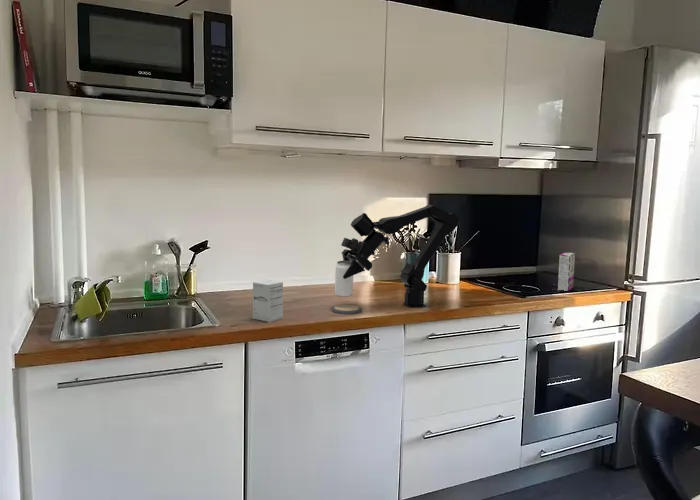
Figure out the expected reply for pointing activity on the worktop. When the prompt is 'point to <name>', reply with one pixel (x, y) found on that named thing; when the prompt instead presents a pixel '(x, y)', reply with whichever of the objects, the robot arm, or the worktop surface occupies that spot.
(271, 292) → the supplement box
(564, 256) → the candy bar box
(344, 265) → the can
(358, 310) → the trivet
